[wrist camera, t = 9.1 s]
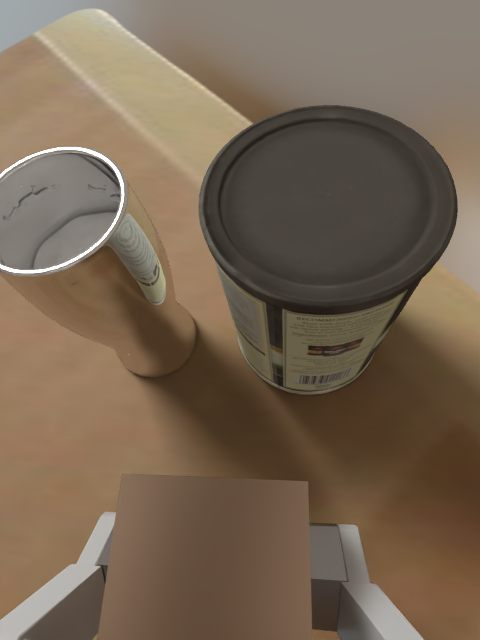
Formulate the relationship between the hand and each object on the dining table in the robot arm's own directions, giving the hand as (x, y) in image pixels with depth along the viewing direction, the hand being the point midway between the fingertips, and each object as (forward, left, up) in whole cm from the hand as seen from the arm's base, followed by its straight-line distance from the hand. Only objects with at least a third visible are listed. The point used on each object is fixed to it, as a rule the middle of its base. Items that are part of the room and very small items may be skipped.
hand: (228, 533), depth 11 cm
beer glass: (-8, +11, -14) cm, 20 cm away
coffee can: (+3, +12, -15) cm, 19 cm away
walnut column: (0, -1, -4) cm, 4 cm away
